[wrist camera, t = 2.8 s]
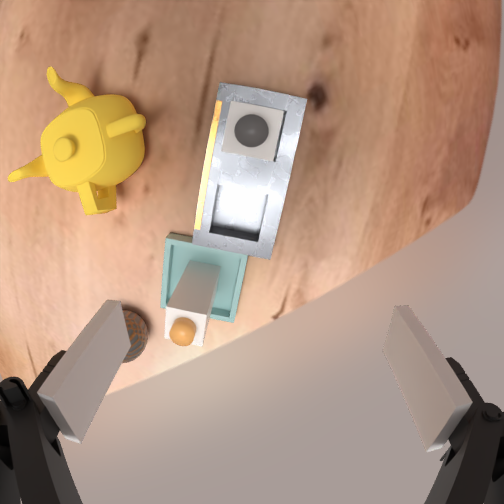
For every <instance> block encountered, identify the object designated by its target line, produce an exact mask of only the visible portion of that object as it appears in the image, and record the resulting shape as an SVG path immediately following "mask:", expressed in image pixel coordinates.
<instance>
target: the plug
mask: <svg viewBox="0 0 504 504" xmlns="http://www.w3.org/2000/svg"><path fill="white" fill-rule="evenodd" d="M220 268H221V266H217V265H212V264H207V263H202V262H197V261H192V260H190V261H189V263H188V265H187V266H186V268H185V270H184V272H183V274H182V276H181V278H180V280H179V282H178V284H177V286H176V288H175V290H174V292H173V294H172V296H171V298H170V300H169V302H168V304H167V306H166V319H165V338H167V339H171V340H172V341H173V342H174V343H175V344H177V345H180V346H188V345H190V344H193V345H198V346H203V342H204V338H205V334H206V330H207V326H208V322H209V319H210V315H211V311H212V307H213V303H214V299H215V296H216V291H217V285H218V279H219V273H220Z"/></svg>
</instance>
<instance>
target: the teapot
mask: <svg viewBox="0 0 504 504" xmlns="http://www.w3.org/2000/svg"><path fill="white" fill-rule="evenodd" d="M47 78H48V81H49V84H50V85H51V87H52V88H53V89H54V90H55V91H56V92H57V93H59V94H61V95H62V96H63V97H64V98H65V100H66V102H67V104H68V106H69V108H67V109H66V110H65V111H63V112H62V113H61V114H60V115H58V116H57V117H56V118H55V119H54V120H53V121H52V122H51V123H50V124H49V125H48V126H47V127H46V128H45V130H44V131H43V133H42V136H41V151H42V155H41V156H39V157H38V158H36V159H35V160H33V161H32V162H30V163H28V164H27V165H25V166H23V167H21V168H19V169H17V170H15V171H13V172H12V173H10V175H9V176H8V181H9V182H15V181H18V180H20V179H23V178H28V177H46V176H49V178H50V180H51V181H52V183H53V184H55V185H56V186H58V187H60V188H62V189H65V190H68V191H72V192H78V193H79V196H80V199H81V203H82V206H83V209H84V212H85V215H93V214H102V213H107V212H109V211H112V210H114V209H116V185H117V184H119V183H121V182H122V181H124V180H125V179H127V178H128V177H129V176H131V175H132V174H133V173H134V172H135V171H136V170H137V169H138V168H139V166H140V165H141V163H142V161H143V158H144V152H145V148H144V139H143V133H142V129H143V128H144V127H145V125H146V120H145V117H144V116H143V115H141V114H137V113H136V111H135V108H134V106H133V105H132V103H131V102H130V101H129V100H128V99H127V98H126V97H123V96H121V95H115V94H109V95H100V96H94V95H93V94H92V92H91V91H90V90H89V89H88V88H87V87H86V86H84V85H81V84H78V83H72V82H68V81H65V80H63V79H61V78H60V77H59V76H58V74H57V73H56V71H55V70H54V68H53V67H49V68H48V69H47ZM96 191H98V197H97V193H96Z"/></svg>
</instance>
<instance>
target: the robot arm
mask: <svg viewBox="0 0 504 504" xmlns="http://www.w3.org/2000/svg"><path fill="white" fill-rule="evenodd" d="M130 347H131V344H130V340H129V336H128V332H127V328H126V323H125V319H124V315H123V310H122V306H121V301H115V300H107V301H106V302H105V303H104V304H103V305H102V307H101V308H100V309H99V310H98V312H97V313H96V314H95V315H94V317H93V318H92V319H91V320H90V322H89V323H88V324H87V325H86V327H85V328H84V329H83V330H82V332H81V333H80V334H79V336H78V337H77V338H76V340H75V341H74V342H73V343H72V345H71V346H70V347H69V349H68V350H67V351H64V350H61V351H60V352H59V353H57V354H56V355H54V356H53V357H52V358H51V360H50V361H49V362H48V364H47V366H45V368H44V369H43V372H41V373H40V374H39V376H38V377H37V378H36V380H35V381H34V382H33V384H32V385H31V387H30V388H29V389H27V388H26V386H25V384H24V382H23V380H21V379H20V378H18V377H9V378H6V379H4V380H3V381H2V382H0V400H1V401H0V504H21V503H20V497H21V501H22V504H83V503H82V501H81V499H80V496H79V494H78V491H77V489H76V487H75V484H74V481H73V479H72V476H71V473H70V471H69V468H68V465H67V462H66V459H65V457H64V453H63V450H62V447H61V444H60V441H59V439H58V437H57V435H58V433H59V431H61V432H62V434H63V435H64V437H65V438H66V439H68V440H71V441H74V442H77V443H82V441H83V439H84V436H85V434H86V432H87V430H88V428H89V426H90V424H91V422H92V420H93V418H94V416H95V414H96V412H97V410H98V408H99V406H100V404H101V402H102V400H103V398H104V396H105V394H106V392H107V390H108V388H109V386H110V384H111V382H112V381H113V379H114V377H115V375H116V373H117V371H118V369H119V367H120V365H121V364H122V362H123V360H124V358H125V356H126V354H127V352H128V351H129V349H130ZM383 353H384V355H385V357H386V359H387V361H388V363H389V366H390V368H391V370H392V372H393V374H394V377H395V379H396V381H397V383H398V386H399V388H400V390H401V392H402V395H403V397H404V399H405V402H406V404H407V406H408V409H409V411H410V413H411V416H412V418H413V421H414V423H415V425H416V428H417V430H418V433H419V435H420V438H421V441H422V443H423V446H424V448H425V451H426V452H429V451H432V450H436V449H439V448H442V447H443V445H444V444H445V443H446V441H447V440H448V439H449V441H450V444H451V446H450V448H449V449H448V450H447V451H446V453H445V454H444V455H443V456H442V458H441V459H440V461H442V460H443V459H444V458H445V459H444V461H443V464H442V466H441V469H440V471H439V473H438V476H437V478H436V480H435V483H434V485H433V487H432V489H431V491H430V493H429V495H428V497H427V500H426V501H425V503H424V504H483V503H484V504H504V412H502V411H501V409H500V408H498V406H496V405H494V404H492V403H485V402H484V401H483V399H482V397H481V396H480V394H479V393H478V391H477V389H476V388H475V387H474V385H473V383H472V382H471V381H470V380H469V377H468V376H467V374H465V371H464V370H463V368H462V367H461V365H460V364H459V363H458V362H457V361H455V360H454V359H453V358H451V357H450V358H445V357H444V356H443V354H442V353H441V351H440V350H439V348H438V347H437V345H436V344H435V342H434V341H433V339H432V338H431V336H430V335H429V334H428V332H427V331H426V329H425V328H424V326H423V325H422V324H421V322H420V321H419V319H418V318H417V317H416V315H415V314H414V312H413V311H412V310H411V308H410V307H409V306H408V305H404V306H395V307H394V311H393V315H392V319H391V323H390V326H389V330H388V334H387V337H386V341H385V345H384V348H383Z"/></svg>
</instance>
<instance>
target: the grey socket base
mask: <svg viewBox="0 0 504 504" xmlns="http://www.w3.org/2000/svg"><path fill="white" fill-rule="evenodd" d="M231 101H235V102H241V103H246V104H252V105H257V106H262V107H267V108H272V109H277V110H282V111H284V113H283V118H282V122H281V127H280V132H279V136H278V141H277V145H276V150H275V155H274V159H273V161H268V160H263V159H258V158H253V157H248V156H243V155H238V154H232V153H227V152H221V149H222V144H223V138H224V133H225V128H226V123H227V118H228V113H229V108H230V103H231ZM306 102H307V99H305V98H300V97H296V96H292V95H287V94H283V93H278V92H274V91H269V90H264V89H258V88H253V87H247V86H241V85H235V84H229V83H222V82H220V84H219V88H218V93H217V98H216V103H215V108H214V113H213V118H212V123H211V128H210V133H209V139H208V144H207V150H206V155H205V161H204V167H203V173H202V179H201V185H200V191H199V198H198V204H197V211H196V218H195V225H194V232H193V239H192V244H193V245H198V246H203V247H208V248H213V249H218V250H224V251H229V252H234V253H239V254H244V255H249V256H254V257H259V258H264V259H271V255H272V251H273V246H274V242H275V238H276V234H277V230H278V225H279V221H280V217H281V213H282V209H283V204H284V200H285V196H286V191H287V187H288V183H289V178H290V174H291V170H292V165H293V161H294V156H295V152H296V148H297V143H298V139H299V134H300V130H301V125H302V120H303V116H304V111H305V107H306Z"/></svg>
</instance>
